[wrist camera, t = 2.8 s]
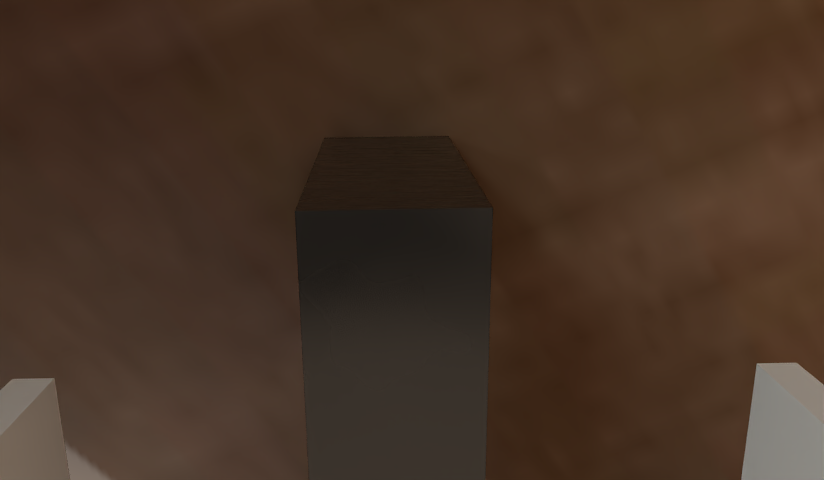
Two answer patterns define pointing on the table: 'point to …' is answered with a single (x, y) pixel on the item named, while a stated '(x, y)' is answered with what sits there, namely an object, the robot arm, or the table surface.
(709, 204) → the table surface
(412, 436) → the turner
